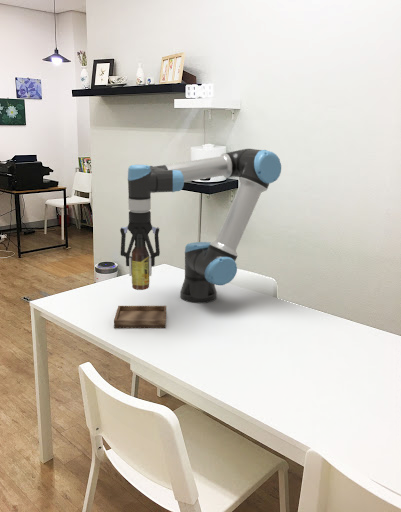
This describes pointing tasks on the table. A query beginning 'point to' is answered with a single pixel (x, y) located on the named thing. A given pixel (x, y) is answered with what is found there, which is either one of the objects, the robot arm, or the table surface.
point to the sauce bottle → (140, 264)
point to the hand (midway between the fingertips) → (140, 274)
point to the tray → (140, 317)
